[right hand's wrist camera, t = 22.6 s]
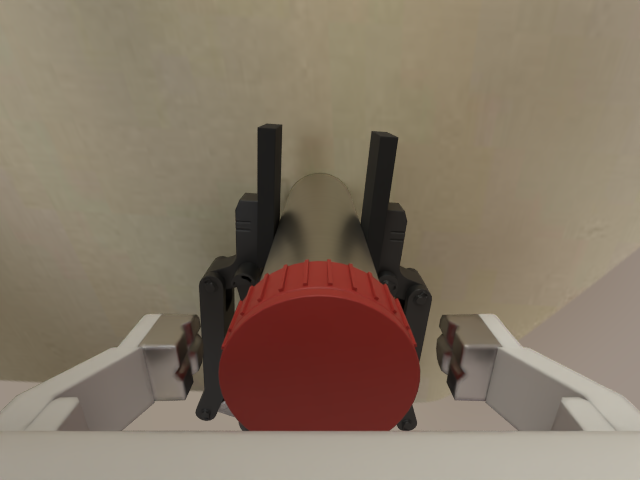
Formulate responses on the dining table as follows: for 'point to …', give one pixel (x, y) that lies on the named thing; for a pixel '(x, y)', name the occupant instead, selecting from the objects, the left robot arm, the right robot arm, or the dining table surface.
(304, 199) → the jar
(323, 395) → the lid
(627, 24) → the dining table surface
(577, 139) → the dining table surface
